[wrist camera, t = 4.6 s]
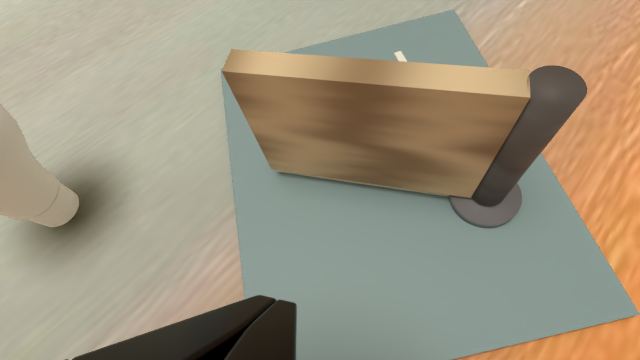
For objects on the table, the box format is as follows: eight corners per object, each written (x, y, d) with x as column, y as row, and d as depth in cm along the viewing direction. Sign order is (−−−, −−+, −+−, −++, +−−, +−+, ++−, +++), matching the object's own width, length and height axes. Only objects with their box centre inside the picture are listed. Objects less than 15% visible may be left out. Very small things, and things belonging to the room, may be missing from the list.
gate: (505, 177, 19) (584, 67, 12) (505, 208, 18) (589, 109, 11) (278, 147, 22) (233, 43, 15) (270, 173, 21) (219, 76, 14)
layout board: (634, 315, 17) (649, 312, 16) (258, 405, 17) (252, 408, 16) (452, 14, 27) (455, 2, 26) (222, 72, 27) (217, 62, 26)
